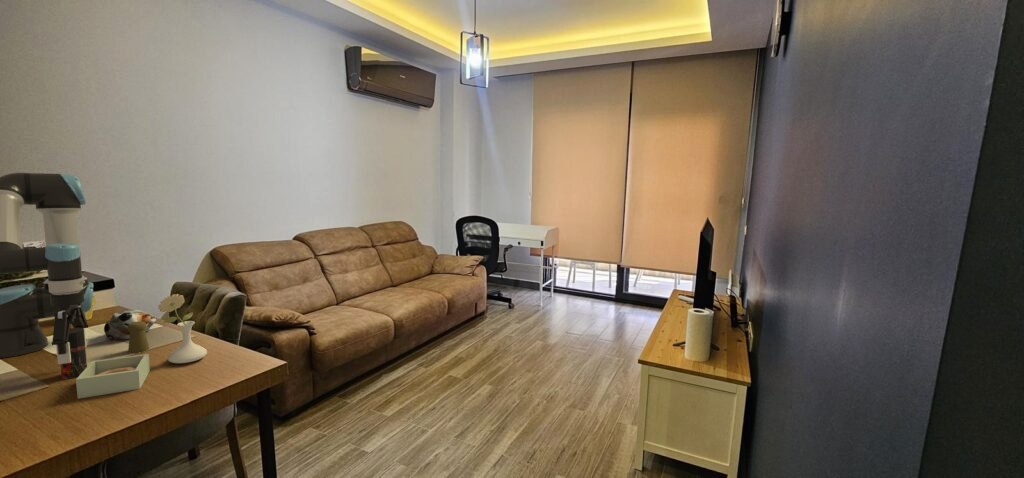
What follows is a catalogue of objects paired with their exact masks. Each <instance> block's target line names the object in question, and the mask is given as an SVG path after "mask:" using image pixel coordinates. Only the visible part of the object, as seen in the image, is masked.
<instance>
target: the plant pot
mask: <svg viewBox="0 0 1024 478" xmlns="http://www.w3.org/2000/svg"><path fill="white" fill-rule="evenodd" d="M94 305H96V296H94V295H93V299H92V306H91V309H90V310H89V311H88V312H85V313H84V315H85V318H86V321H89V320H91V319H92V316H93V311H94V307H95V306H94Z"/></svg>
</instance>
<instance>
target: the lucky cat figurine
mask: <svg viewBox="0 0 1024 478" xmlns="http://www.w3.org/2000/svg"><path fill="white" fill-rule="evenodd" d="M138 321H142V322H145V323H146V329H145V333H146V332H149V331H150V329H151V328H152V326H154V324H156V322H157V321H158V316H155V315H151V314H148V313H147V312H145V311H143V310H141V309H128V310H124V311H121V312H120V313H117V312H114V313H113V314H112V316H111V318H110V319H109V320H108V321H106V323H105V324H104V327H103V332H104V333H105V334H104V335H105V337H106V338H110V339H112V340H113V341H123V340H129V338H130V332H129V331H128V325H129V324H130V323H133V322H138Z"/></svg>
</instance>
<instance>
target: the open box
mask: <svg viewBox="0 0 1024 478" xmlns="http://www.w3.org/2000/svg"><path fill="white" fill-rule="evenodd" d="M150 366H151V365H150V354H149V353H143V354H136V355H130V356H121V357H120V356H119V357H113V358H105V359H97V360H92V361H91V362H90V363H89V364H87V368H86V369H85V370H84V371H83V372H82V373H81V374H80V375H79V377H76V378H75V383H76V384H75V385H76V393H77V399H78V400H79V399H84V398H92V397H96V396H103V395H108V394H110V395H111V394H115V393H121V392H128V391H134V390H140V389H141V388H142V386H143V384H144V382H145V380H146V379H147V377H148V374H149V373H150V371H151V369H150Z"/></svg>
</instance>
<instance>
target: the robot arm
mask: <svg viewBox="0 0 1024 478" xmlns="http://www.w3.org/2000/svg"><path fill="white" fill-rule="evenodd" d="M24 205H26V206H27V205H28V206H29V205H30V206H35V209H36V210H35V211H37V212H39V214H41V215H42V220H43V221H42V222H43V228H44V229H43V230H44V231H43V232H44V239H45V241H44V242H45V246H44V247H43V246H42V247H30V248H29V247H26V248H25V247H23V248H22V229H21V209H22V208H23V206H24ZM83 205H86V198H85V194H84V190H83V187H82V184H81V180H80V178H79V177H78V176H76V175H75V174H69V173H68V174H67V173H65V174H64V173H41V172H39V173H38V172H37V173H36V172H35V173H33V172H12V173H7V174H4V175H1V176H0V275H4V274H5V275H6V274H17V273H26V272H27V273H28V272H39V271H40V272H43V271H46V272H47V279H45V281H43V286H42V287H36V285H35V284H31V283H28V284H17V285H12V286H8V287H7V286H6V287H2V288H0V358H1V359H3V358H10V357H11V358H12V357H17V356H23V355H26V354H31V353H34V352H37V351H40V350H42V349H45V348H47V347H48V346H49V340H48V337H47V335H46V334H45V333H44V331H43V330H42V328H41V327H40V322H39V320H42V319H43V320H44V319H49V318H50V319H51V318H54V322H53V323H54V324H53V333H52V342H51V346H55V347H56V356H57V357H56V358H57V364H58V365H60V364H65V363H71V354H70V344H69V342H68V337H69V332H70V328H71V325H72V328H83V329H84V338H85V348H87V339H86V328H89V324H88V322H87V321H88V320H86V318H85V315H84V313H85V312H88V311H89V310H90V309H91V306H92V299H93V296H94V283H93V282H90V281H88V280H89V279H88V277H87V276H85V275H83V274H82V272H83V269H82V258H81V256H82V253H81V250H80V248H81V247H80V244H79V233H78V224H77V223H78V222H77V214H78V212H79V211H81V210H82V208H81V207H82V206H83ZM60 339H61V340H60Z"/></svg>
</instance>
